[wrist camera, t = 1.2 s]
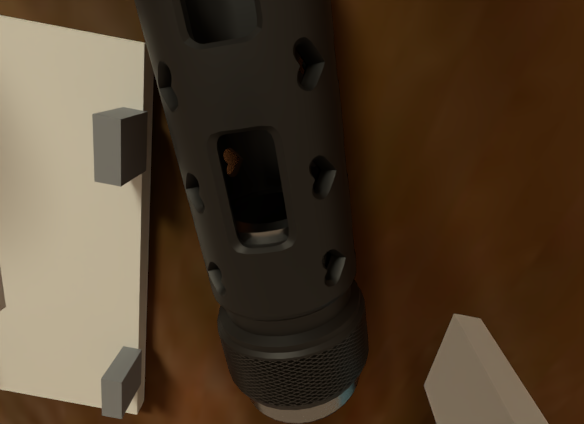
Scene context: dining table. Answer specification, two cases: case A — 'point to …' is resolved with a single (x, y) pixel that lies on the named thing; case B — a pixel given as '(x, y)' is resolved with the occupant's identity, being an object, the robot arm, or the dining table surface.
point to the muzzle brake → (266, 191)
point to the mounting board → (74, 214)
